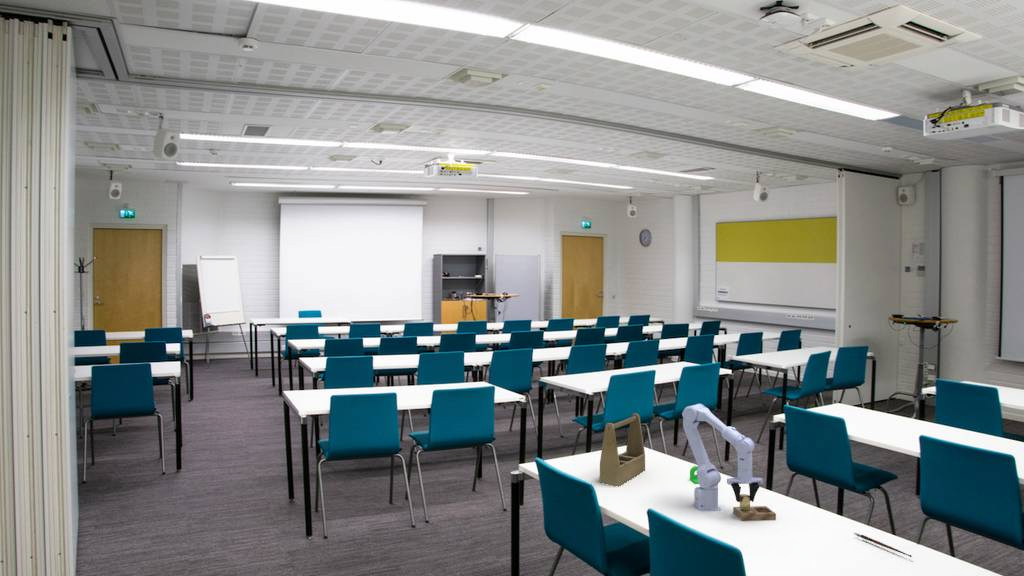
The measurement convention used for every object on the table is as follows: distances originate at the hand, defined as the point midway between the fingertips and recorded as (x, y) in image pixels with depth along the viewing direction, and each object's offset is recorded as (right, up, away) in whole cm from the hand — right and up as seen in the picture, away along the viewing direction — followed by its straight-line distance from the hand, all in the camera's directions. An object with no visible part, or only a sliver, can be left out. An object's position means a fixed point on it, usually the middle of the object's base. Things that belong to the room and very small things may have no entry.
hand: (744, 501), depth 273 cm
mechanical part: (-4, -6, +44) cm, 45 cm away
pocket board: (+4, -6, 0) cm, 8 cm away
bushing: (0, -4, 0) cm, 4 cm away
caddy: (-41, -6, +52) cm, 67 cm away
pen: (+40, -6, -20) cm, 45 cm away
